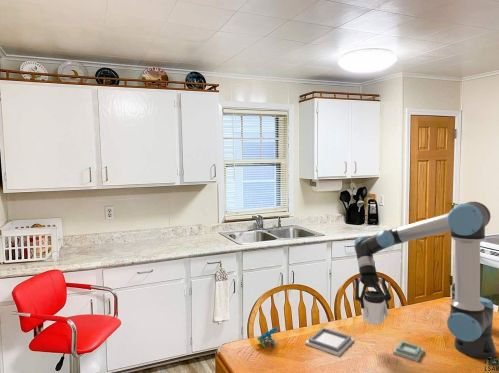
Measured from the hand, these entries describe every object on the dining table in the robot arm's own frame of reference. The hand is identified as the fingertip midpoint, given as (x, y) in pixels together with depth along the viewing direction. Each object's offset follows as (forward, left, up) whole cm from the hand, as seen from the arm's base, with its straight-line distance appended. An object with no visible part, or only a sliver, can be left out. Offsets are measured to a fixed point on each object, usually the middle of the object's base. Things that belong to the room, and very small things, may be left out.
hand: (376, 315), depth 156 cm
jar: (+2, -3, -4) cm, 5 cm away
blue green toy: (+40, +25, -15) cm, 49 cm away
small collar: (-12, -6, -15) cm, 20 cm away
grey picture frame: (+18, +7, -15) cm, 24 cm away
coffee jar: (-25, -55, -15) cm, 62 cm away
